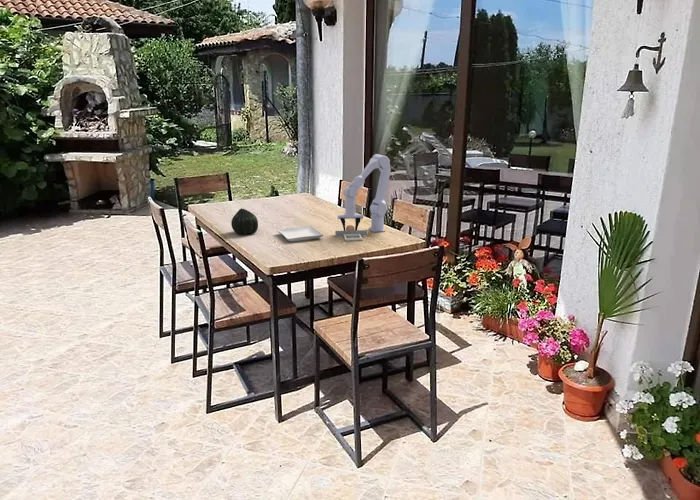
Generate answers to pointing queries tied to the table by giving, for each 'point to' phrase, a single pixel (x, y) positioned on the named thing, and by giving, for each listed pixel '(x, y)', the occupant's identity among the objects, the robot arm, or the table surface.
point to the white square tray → (352, 237)
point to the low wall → (351, 232)
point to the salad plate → (300, 233)
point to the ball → (350, 228)
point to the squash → (244, 222)
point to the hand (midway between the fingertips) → (350, 230)
